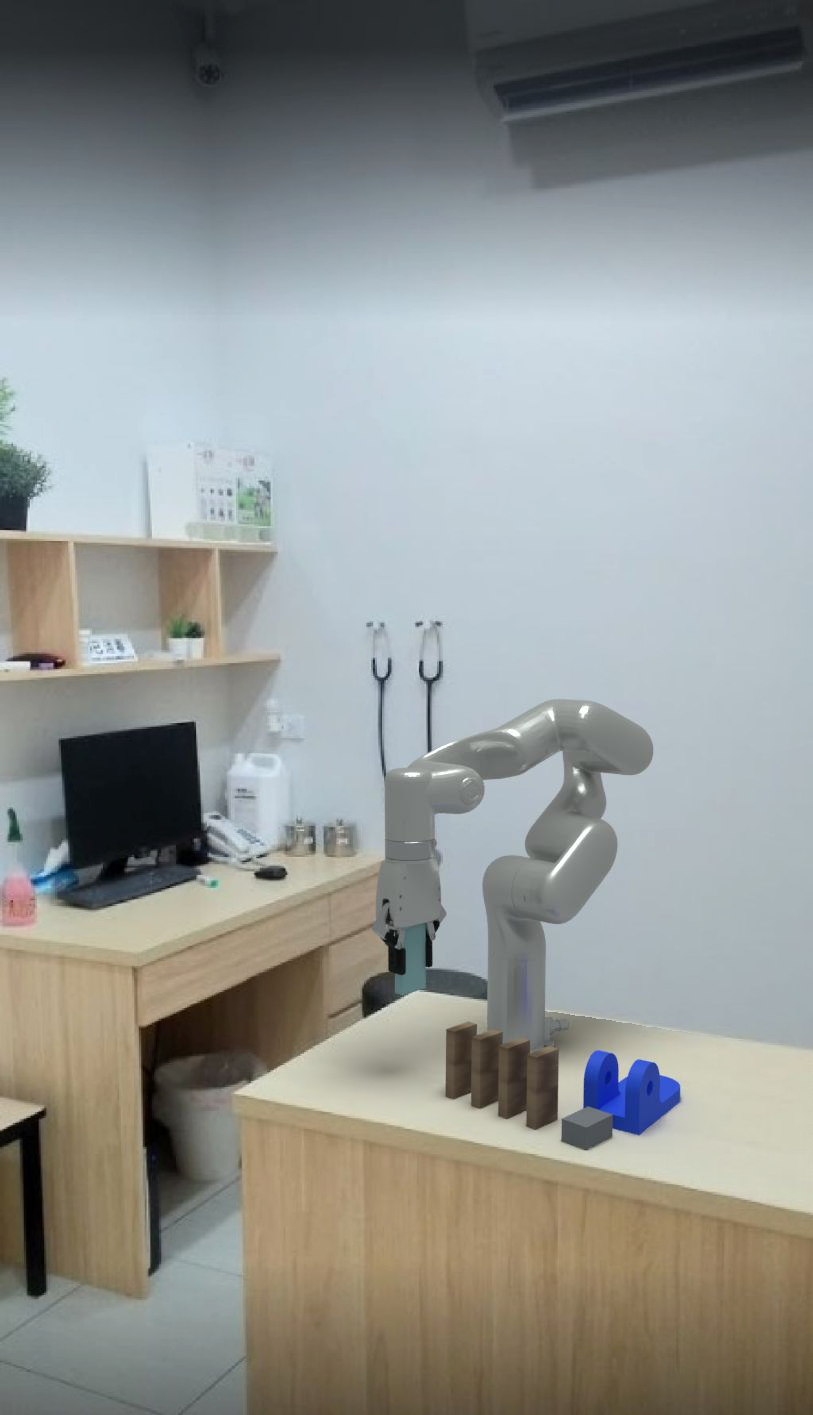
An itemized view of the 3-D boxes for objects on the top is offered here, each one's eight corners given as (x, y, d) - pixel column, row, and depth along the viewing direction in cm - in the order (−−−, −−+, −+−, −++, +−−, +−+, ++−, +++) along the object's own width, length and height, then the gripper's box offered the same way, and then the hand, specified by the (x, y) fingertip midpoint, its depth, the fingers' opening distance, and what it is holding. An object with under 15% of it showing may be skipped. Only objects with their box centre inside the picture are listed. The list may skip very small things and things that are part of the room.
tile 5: (548, 1116, 160) (549, 1045, 160) (557, 1119, 159) (558, 1048, 158) (526, 1126, 156) (527, 1054, 156) (535, 1129, 155) (536, 1057, 155)
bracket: (638, 1136, 154) (640, 1070, 153) (583, 1121, 159) (584, 1057, 158) (688, 1095, 169) (689, 1035, 168) (636, 1083, 173) (637, 1024, 173)
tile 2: (468, 1087, 170) (468, 1021, 170) (476, 1090, 169) (476, 1023, 169) (445, 1096, 167) (446, 1028, 166) (453, 1099, 166) (454, 1031, 165)
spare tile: (418, 985, 175) (418, 921, 175) (425, 988, 174) (425, 923, 174) (395, 992, 172) (394, 927, 171) (402, 995, 171) (402, 929, 170)
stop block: (587, 1127, 156) (588, 1106, 156) (612, 1136, 153) (612, 1114, 153) (561, 1140, 152) (561, 1118, 152) (586, 1149, 149) (586, 1127, 149)
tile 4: (520, 1106, 164) (521, 1037, 163) (529, 1109, 162) (530, 1039, 162) (498, 1115, 160) (498, 1045, 160) (506, 1119, 159) (507, 1048, 158)
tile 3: (493, 1096, 167) (494, 1029, 167) (501, 1099, 166) (502, 1031, 166) (471, 1105, 163) (471, 1036, 163) (479, 1108, 162) (480, 1039, 162)
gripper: (431, 840, 181) (431, 953, 182) (351, 854, 169) (352, 975, 170) (466, 846, 175) (466, 962, 176) (386, 861, 163) (386, 986, 164)
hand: (410, 967), depth 173 cm, fingers closed on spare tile, 5 cm apart
